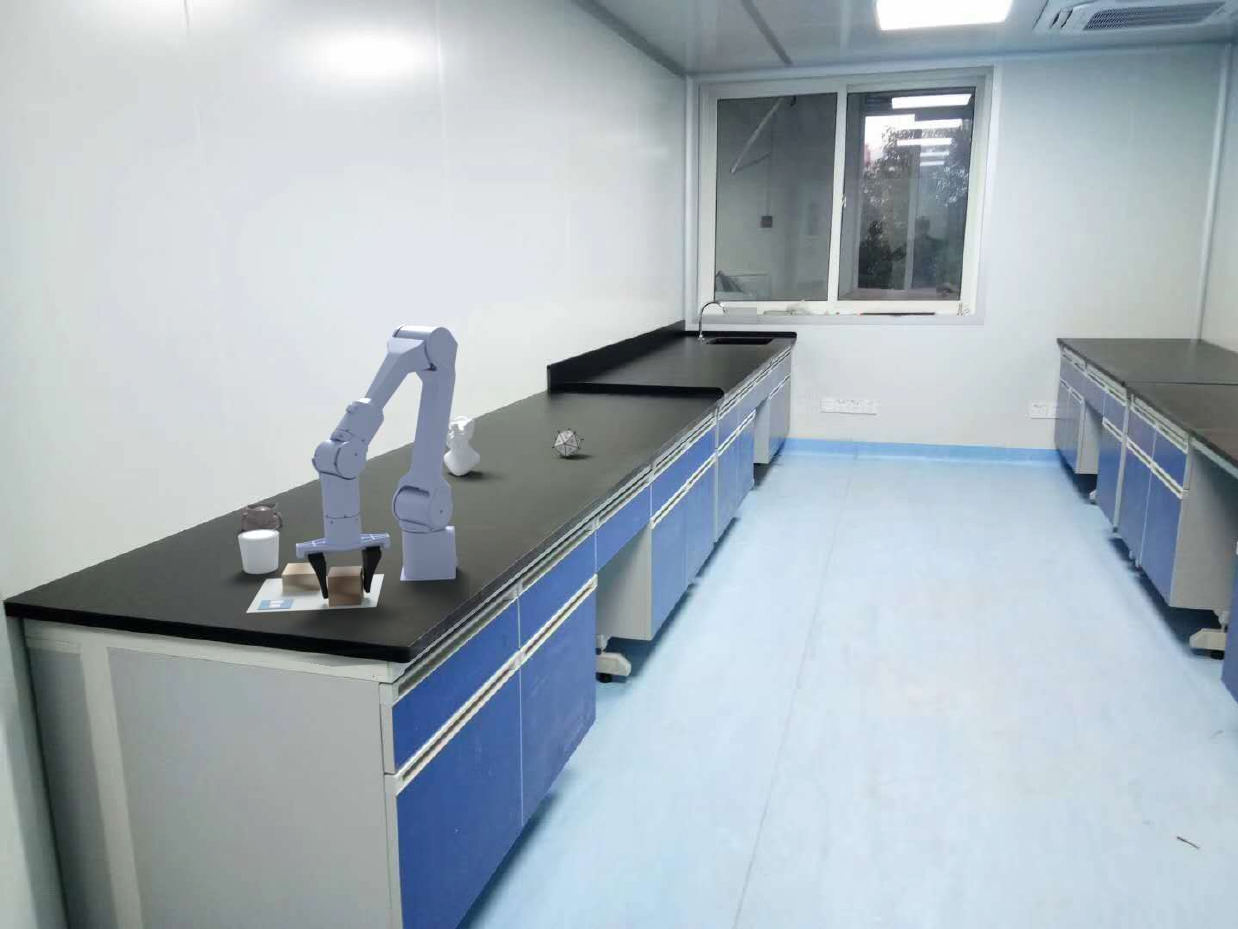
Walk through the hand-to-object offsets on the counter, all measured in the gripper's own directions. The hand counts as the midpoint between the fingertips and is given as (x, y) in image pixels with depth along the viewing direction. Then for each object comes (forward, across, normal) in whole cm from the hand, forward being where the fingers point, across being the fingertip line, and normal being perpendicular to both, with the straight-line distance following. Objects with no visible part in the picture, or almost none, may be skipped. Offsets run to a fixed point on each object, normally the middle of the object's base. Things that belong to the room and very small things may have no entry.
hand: (346, 594), depth 156 cm
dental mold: (+2, +8, -50) cm, 51 cm away
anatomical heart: (+2, -42, -82) cm, 92 cm away
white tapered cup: (+2, +11, -22) cm, 25 cm away
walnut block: (+1, 0, 0) cm, 1 cm away
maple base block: (+1, +5, -10) cm, 12 cm away
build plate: (+2, +4, -6) cm, 7 cm away
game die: (+2, -77, -92) cm, 120 cm away
